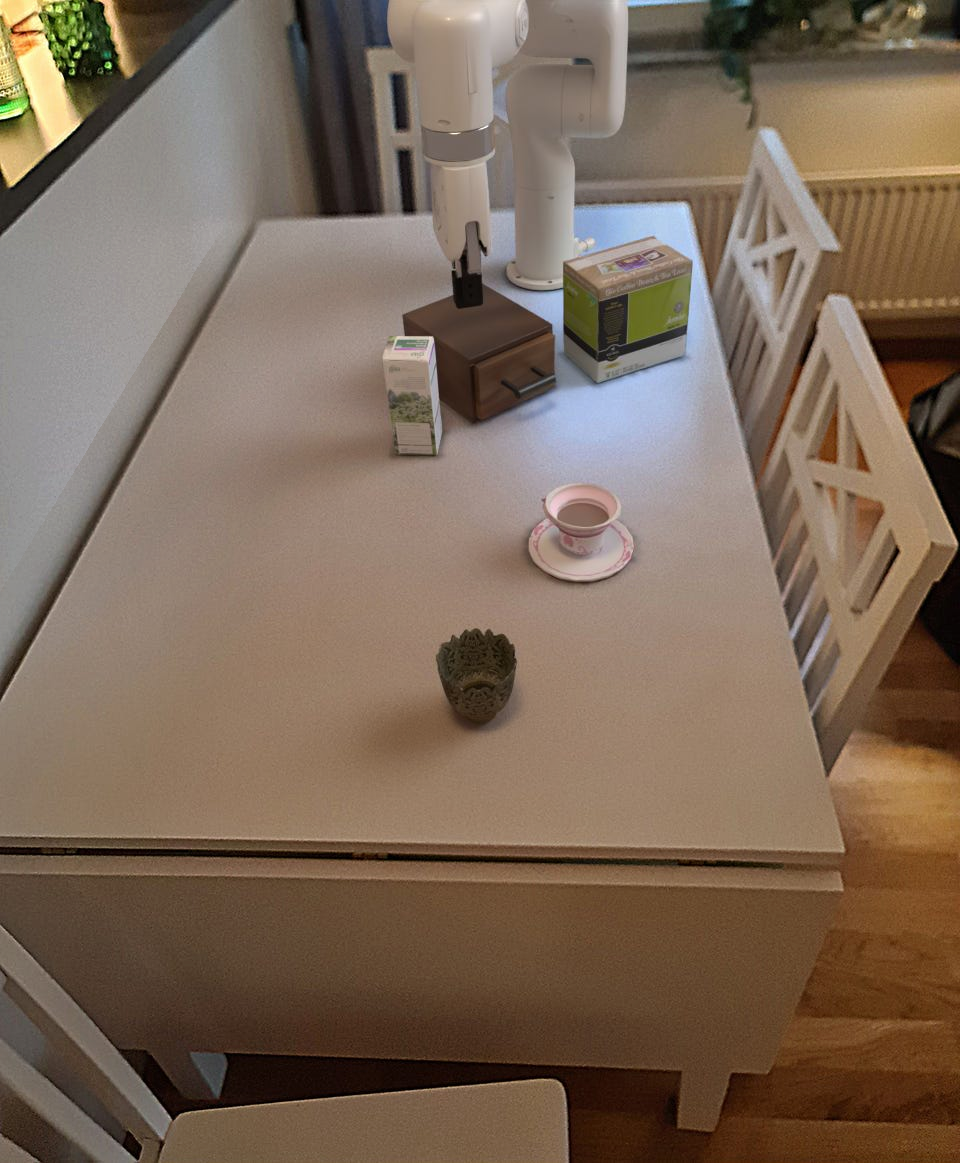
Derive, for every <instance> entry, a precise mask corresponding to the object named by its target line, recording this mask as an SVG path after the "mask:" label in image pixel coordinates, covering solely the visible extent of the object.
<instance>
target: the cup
mask: <svg viewBox="0 0 960 1163" xmlns="http://www.w3.org/2000/svg"><path fill="white" fill-rule="evenodd" d="M435 661H436V666H437V672H438V676H439V679H440V683H441V686H442V688H443V689H442V690H443V692H444V695H445V697H446V699H447V701H448V703H449V705H450V706H451V707H452V708H453V709H454V710H455V711H456V712H457V713H459V714H461V715H462V716H463V717H465V719H467V720H468V721H469V722H471V723H475V724H485V723H488V722H490V721H492V720H493V719H494V718H495V717H496V716H497V714H498V713H499V712H501V711H502V710H503V709H504V708H505V707H506V705H507V704H508V702H509V701H510V698H511V696H512V694H513V690H514V684H515V677H516V671H517V664H518V659H517V657H516V647H515V645H514V643H510V640H509V638H508V637H507V636H506V635H505V634H504V633H498V634H496V635H494V632H493V631H492V629H491V628H487V629H486V630H485V632H484V633H483V632H482V630H481V629H480V628H477V627H475V628H473V629H471V630H468V629H467V628H465V629H464V631H462V633H461V634H460V635H459V638H458V637H457V635H455V634H452V635H451V637H450V641H444V642H441V643H440V645H439V649H438V651H437V653H436V654H435Z"/></svg>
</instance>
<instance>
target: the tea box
mask: <svg viewBox="0 0 960 1163" xmlns="http://www.w3.org/2000/svg"><path fill="white" fill-rule="evenodd" d="M693 264H694V262H693V259H691V258H689V257H688V256H685V255H684V254H682V253H681V252H680V251H678V250H676V249H674V248H673V247H672V246H670V245H668V244H667V243H665V242H663V241H662V240H660V239H659V238H657V237H655V235H651V236H647V237H644V238H641V239H637V240H633V241H630V242H626V243H623V244H620V245H615V246H612V247H609V248H605V249H601V250H599V251H595V252H591V253H588V254H584V255H581V256H579V257H577V258H575V259H571V260H566V261H564V262H563V288H562V293H563V294H562V307H563V308H562V309H563V310H562V311H563V312H562V313H563V315H562V323H563V324H562V330H563V331H562V332H563V333H562V334H563V337H562V338H563V353H564V354H565V356H566V357H567V358H568V359H569V360H570V361H571V362H572V363H573V364H575V366H577V367H578V368H579V369H580V370H581V371H583V373H585V375H587V376H588V377H589V378H590V379H592V381H594V382H595V383H596V384H599V383H602V382H605V381H608V380H612V379H615V378H619V377H620V376H624V375H627V374H630V373H634V372H636V371H639V370H643V369H646V368H649V367H652V366H655V365H659V364H662V363H665V362H668V361H670V360H674V359H678V358H680V357H684V356H685V355H686V351H687V350H686V348H687V339H688V325H689V316H690V303H691V290H692V277H693Z"/></svg>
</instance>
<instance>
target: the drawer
mask: <svg viewBox="0 0 960 1163" xmlns="http://www.w3.org/2000/svg"><path fill="white" fill-rule="evenodd" d="M473 369H474V385H475V401H476V416H477V417H478V418H479V419H481V420H480V421H483V420H485V419H488V418H490V417H492V416H494V415H496V414H498V413H501V412H502V411H503V412H504V411H505V410H507V409H509V408H512V407H514V406H516V405H518V404H521V403H522V402H524V401H527V400H530V399H531V398H533V397H535V396H538V395H540V394H542V393H544V392H546V391H549V390H552V389H553V388H555V387H556V386H555V385H556V382H557V377H556V335H555V334H551V333H550V332H549V333H547V334H544V335H542V336H540V337H538V336H537V337H535V338H533V339H530V340H528V341H526V342H523V343H521V344H519V345H516V346H514V347H512V348H509V349H507V350H505V351H502V352H500V353H498V354H495V355H493V356H491V357H488V358H486V359H484V360H481V361H479V362H476V363H474V365H473Z"/></svg>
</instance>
